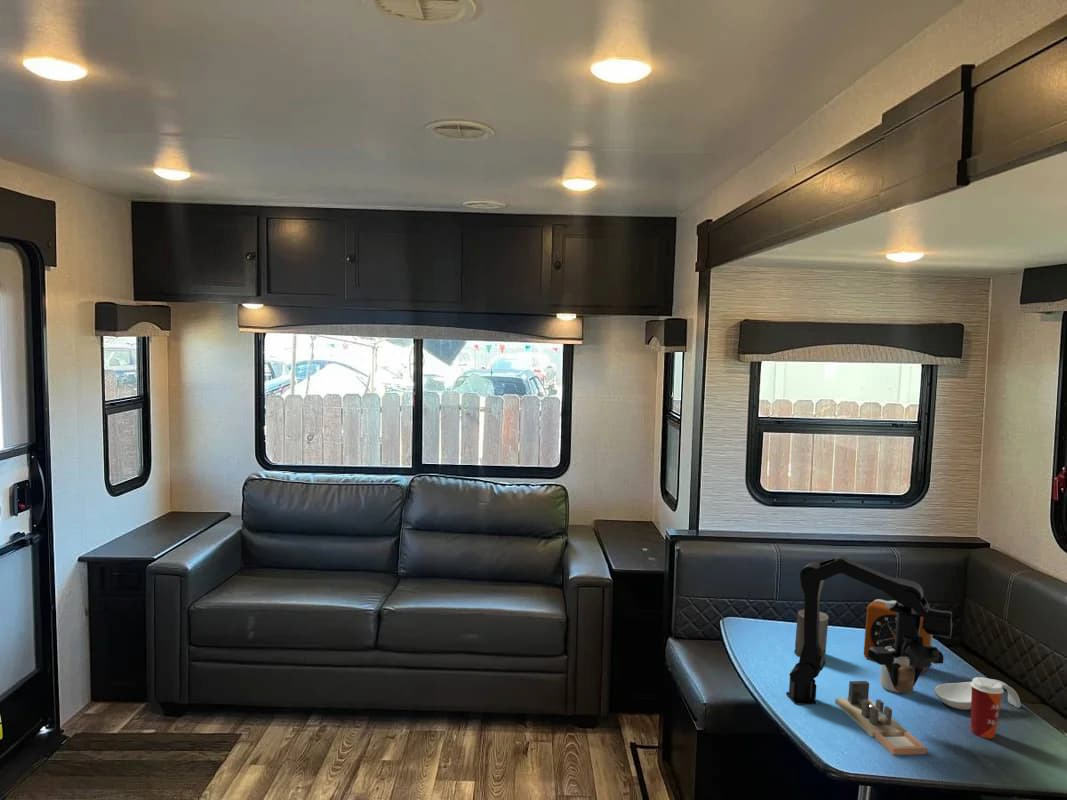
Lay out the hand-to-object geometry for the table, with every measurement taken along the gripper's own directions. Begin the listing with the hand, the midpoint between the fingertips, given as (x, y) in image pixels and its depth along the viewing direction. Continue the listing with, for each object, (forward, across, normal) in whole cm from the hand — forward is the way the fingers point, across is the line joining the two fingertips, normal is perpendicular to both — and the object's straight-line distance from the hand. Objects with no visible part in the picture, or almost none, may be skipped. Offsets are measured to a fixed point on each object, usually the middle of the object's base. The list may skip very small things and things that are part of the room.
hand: (903, 685), depth 210 cm
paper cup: (+11, +20, -6) cm, 24 cm away
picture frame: (+11, -7, -10) cm, 16 cm away
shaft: (+9, -7, +4) cm, 12 cm away
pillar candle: (+11, -2, +47) cm, 48 cm away
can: (+11, +12, +22) cm, 27 cm away
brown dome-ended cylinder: (+1, 0, 0) cm, 1 cm away
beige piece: (+11, -7, +4) cm, 13 cm away
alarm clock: (+11, +24, +39) cm, 48 cm away
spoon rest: (+12, +30, +10) cm, 34 cm away
